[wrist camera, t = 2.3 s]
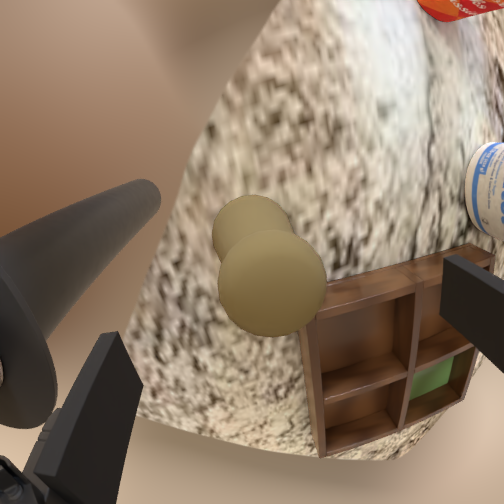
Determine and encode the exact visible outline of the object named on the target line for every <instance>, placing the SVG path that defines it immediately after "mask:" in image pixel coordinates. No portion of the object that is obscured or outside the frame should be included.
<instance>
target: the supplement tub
mask: <svg viewBox="0 0 504 504" xmlns="http://www.w3.org/2000/svg"><path fill="white" fill-rule="evenodd" d="M465 201H466V206H467V210H468V214H469V217H470V219H471V220H472V222H473V224H474V225H475V226H476V227H477V228H478V229H479V230H480V231H482V232H484V233H486V234H488V235H490V236H492V237H494V238H497V239H499V240H501V241H503V242H504V143H497V142H491V143H487V144H485V145H483V146H482V147H480V148H479V149H478V150H477V151H476V153H475V154H474V155H473V157H472V159H471V161H470V163H469V166H468V169H467V173H466V179H465Z"/></svg>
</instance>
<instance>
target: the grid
mask: <svg viewBox="0 0 504 504" xmlns="http://www.w3.org/2000/svg"><path fill="white" fill-rule="evenodd" d="M454 254H458V255H459V256H461V257H463V258H465V259H467V260H469V261H470V262H472V263H474V264H476V265H478V266H479V267H481V268H483V269H485V270H487V271H488V272H490V273H492V274H493V273H494V265H495V255H493V254H491V253H489V252H487V251H485V250H483V249H481V248H479V247H477V246H475V245H473V244H471V243H468V244H464V245H461V246H458V247H455V248H451V249H448V250H445V251H441V252H438V253H434V254H431V255H428V256H424V257H421V258H417V259H414V260H410V261H406V262H403V263H399V264H396V265H392V266H388V267H385V268H381V269H377V270H373V271H370V272H366V273H362V274H358V275H354V276H350V277H346V278H342V279H338V280H334V281H330V282H327V286H326V295H325V298H324V300H323V303H322V306H321V308H320V309H319V311H318V312H317V313H316V315H315V316H314V318H313V319H312V320H311V321H310V322H309V323H308V324H306V325H305V326H304V327H303V328H301V329H300V330H298V334H299V341H300V348H301V356H302V363H303V371H304V378H305V386H306V394H307V402H308V410H309V419H310V427H311V434H312V437H313V440H314V443H315V446H316V449H317V452H318V455H319V458H323V457H326V456H330V455H333V454H337V453H340V452H343V451H346V450H349V449H352V448H355V447H358V446H361V445H364V444H367V443H370V442H372V441H375V440H378V439H380V438H383V437H386V436H388V435H391V434H393V433H396V432H398V431H401V430H403V429H405V428H407V427H410V426H412V425H414V424H416V423H419V422H421V421H423V420H425V419H427V418H429V417H431V416H433V415H436V414H438V413H440V412H442V411H443V410H445V409H447V408H449V407H451V406H453V405H455V404H457V403H459V402H461V401H462V400H464V398H465V395H466V392H467V389H468V386H469V383H470V380H471V376H472V373H473V370H474V366H475V363H476V359H477V356H478V352H479V350H478V349H477V348H476V347H475V346H474V345H473V344H472V343H471V342H469V341H468V340H467V339H466V338H465V337H464V336H463V335H462V334H461V333H459V332H458V331H457V330H456V329H455V328H454V327H453V326H452V325H450V324H449V323H448V322H447V321H446V320H445V319H444V318H442V317H441V316H440V315H439V310H440V301H441V289H442V275H443V258H444V257H447V256H451V255H454Z"/></svg>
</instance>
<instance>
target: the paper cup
mask: <svg viewBox="0 0 504 504" xmlns="http://www.w3.org/2000/svg"><path fill="white" fill-rule="evenodd" d="M417 1H418V3H419V4H420V5H421V7H422V8H423V9H424V10H425V11H426V12H427V13H428V14H429V15H431V16H432V17H434V18H435V19H437V20H439V21H442V22H451V21H455V20H459V19H462V18H466V17H470V16H474V15H477V14H481V13H485V12H489V11H494V10H498V9H502V8H504V0H417Z"/></svg>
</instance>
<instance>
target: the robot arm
mask: <svg viewBox="0 0 504 504" xmlns="http://www.w3.org/2000/svg"><path fill="white" fill-rule="evenodd" d="M439 315H440V316H441V317H442V318H444V319H445V320H446V321H447V322H448V323H449V324H450V325H452V326H453V327H454V328H455V329H456V330H457V331H458V332H459V333H461V334H462V335H463V336H464V337H465V338H466V339H467V340H468V341H469V342H471V343H472V344H473V345H474V346H475V347H476V348H477V349H478V350H479V351H480V352H481V353H483V354H484V355H485V356H486V357H487V358H488V359H489V360H490V361H491V362H492V363H493V364H494V365H495V366H496V367H497V368H499V370H501V371H502V372H503V373H504V280H502V279H500V278H499V277H497V276H495V275H494V274H492V273H490V272H488V271H487V270H485V269H483V268H481V267H479V266H478V265H476V264H474V263H472V262H470V261H469V260H467V259H465V258H463V257H461V256H459V255H458V254H454V255H451V256H447V257H444V258H443V275H442V289H441V301H440V310H439ZM3 380H4V369H3V364H2V360H1V357H0V387H1V385H2V383H3ZM142 389H143V383H142V381H141V380H140V378H139V376H138V374H137V371H136V369H135V367H134V365H133V363H132V361H131V359H130V357H129V355H128V353H127V350H126V348H125V346H124V344H123V342H122V339H121V337H120V335H119V333H118V331H116V332H110V333H103V334H101V335H100V337H99V338H98V340H97V342H96V344H95V346H94V347H93V349H92V351H91V353H90V354H89V356H88V358H87V360H86V362H85V364H84V366H83V367H82V369H81V371H80V373H79V375H78V377H77V379H76V380H75V382H74V384H73V386H72V388H71V390H70V392H69V394H68V396H67V398H66V400H65V402H64V404H63V406H62V408H57V409H56V410H55V411H54V412H53V413H52V414H51V415H50V416H49V417H48V418H47V420H46V422H45V424H44V426H43V428H42V432H41V433H40V435H39V437H38V441H36V443H35V445H34V447H33V450H32V452H31V454H30V456H29V458H28V461H27V463H26V465H25V468H24V470H23V472H22V473H21V471H19V470H18V468H16V466H15V465H14V464H13V463H12V462H11V461H10V460H9V459H8V458H6V457H5V456H1V455H0V504H116V501H117V495H118V491H119V486H120V481H121V476H122V471H123V467H124V462H125V458H126V453H127V448H128V445H129V440H130V436H131V432H132V428H133V424H134V420H135V416H136V412H137V408H138V404H139V400H140V397H141V393H142Z"/></svg>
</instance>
